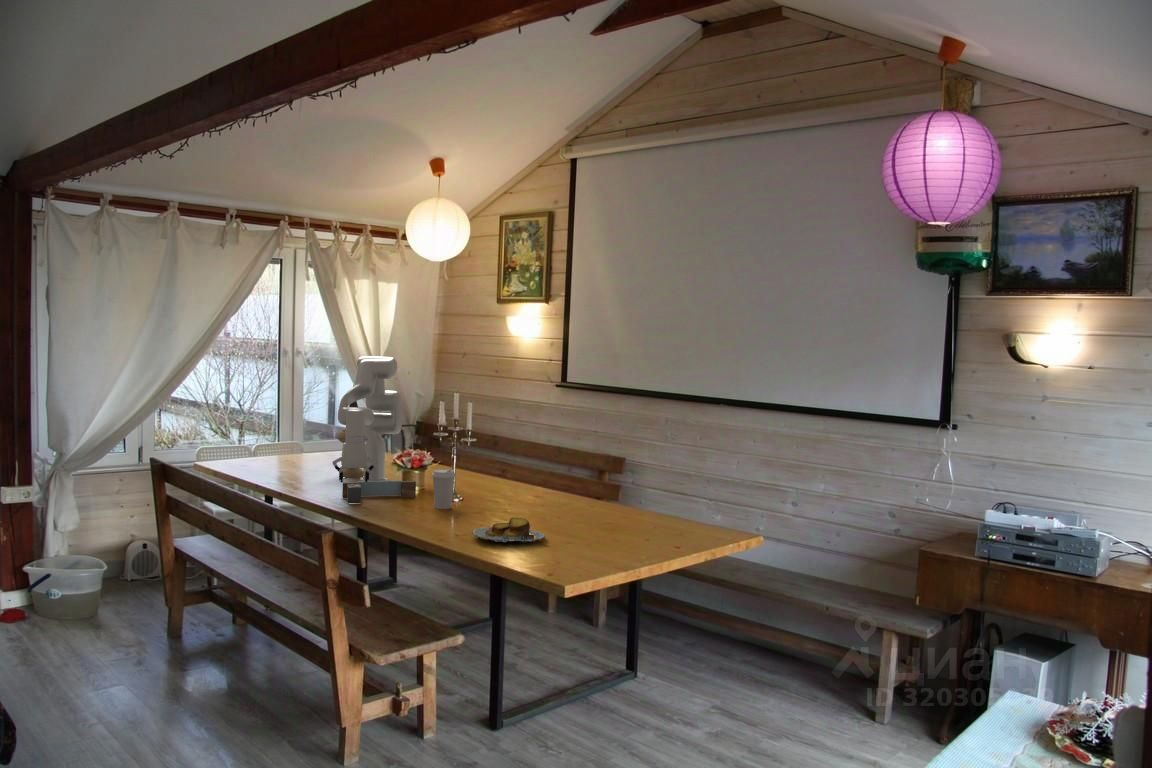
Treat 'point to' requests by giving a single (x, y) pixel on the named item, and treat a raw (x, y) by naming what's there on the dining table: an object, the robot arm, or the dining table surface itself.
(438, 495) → the coffee cup
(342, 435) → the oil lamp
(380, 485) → the grey curved plank
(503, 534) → the food on plate
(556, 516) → the dining table surface
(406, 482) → the pair of brown blocks
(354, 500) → the dark grey block
